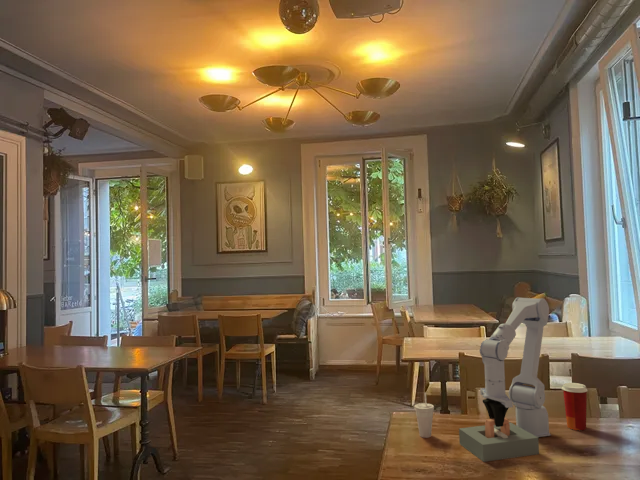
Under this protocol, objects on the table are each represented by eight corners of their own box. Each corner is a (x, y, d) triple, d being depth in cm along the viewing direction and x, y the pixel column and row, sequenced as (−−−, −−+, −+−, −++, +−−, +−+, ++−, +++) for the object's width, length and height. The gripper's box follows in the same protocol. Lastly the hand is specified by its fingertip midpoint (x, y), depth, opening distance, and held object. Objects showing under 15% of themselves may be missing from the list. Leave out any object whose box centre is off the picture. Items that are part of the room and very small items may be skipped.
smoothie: (435, 439, 162) (433, 395, 162) (415, 438, 163) (413, 395, 164) (435, 432, 168) (433, 390, 169) (415, 431, 170) (413, 389, 170)
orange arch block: (504, 436, 155) (503, 416, 155) (510, 440, 152) (509, 420, 152) (485, 438, 154) (484, 418, 154) (490, 442, 151) (490, 422, 151)
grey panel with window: (511, 437, 162) (510, 419, 162) (539, 454, 148) (538, 434, 148) (459, 444, 158) (458, 425, 158) (483, 461, 144) (482, 441, 144)
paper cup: (590, 425, 169) (588, 383, 169) (588, 433, 163) (586, 389, 163) (564, 422, 173) (562, 381, 174) (561, 429, 167) (559, 386, 167)
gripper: (470, 375, 159) (472, 418, 159) (496, 386, 145) (498, 434, 145) (490, 373, 161) (492, 416, 161) (518, 384, 147) (520, 431, 146)
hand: (496, 424), depth 153 cm, fingers closed on orange arch block, 2 cm apart
